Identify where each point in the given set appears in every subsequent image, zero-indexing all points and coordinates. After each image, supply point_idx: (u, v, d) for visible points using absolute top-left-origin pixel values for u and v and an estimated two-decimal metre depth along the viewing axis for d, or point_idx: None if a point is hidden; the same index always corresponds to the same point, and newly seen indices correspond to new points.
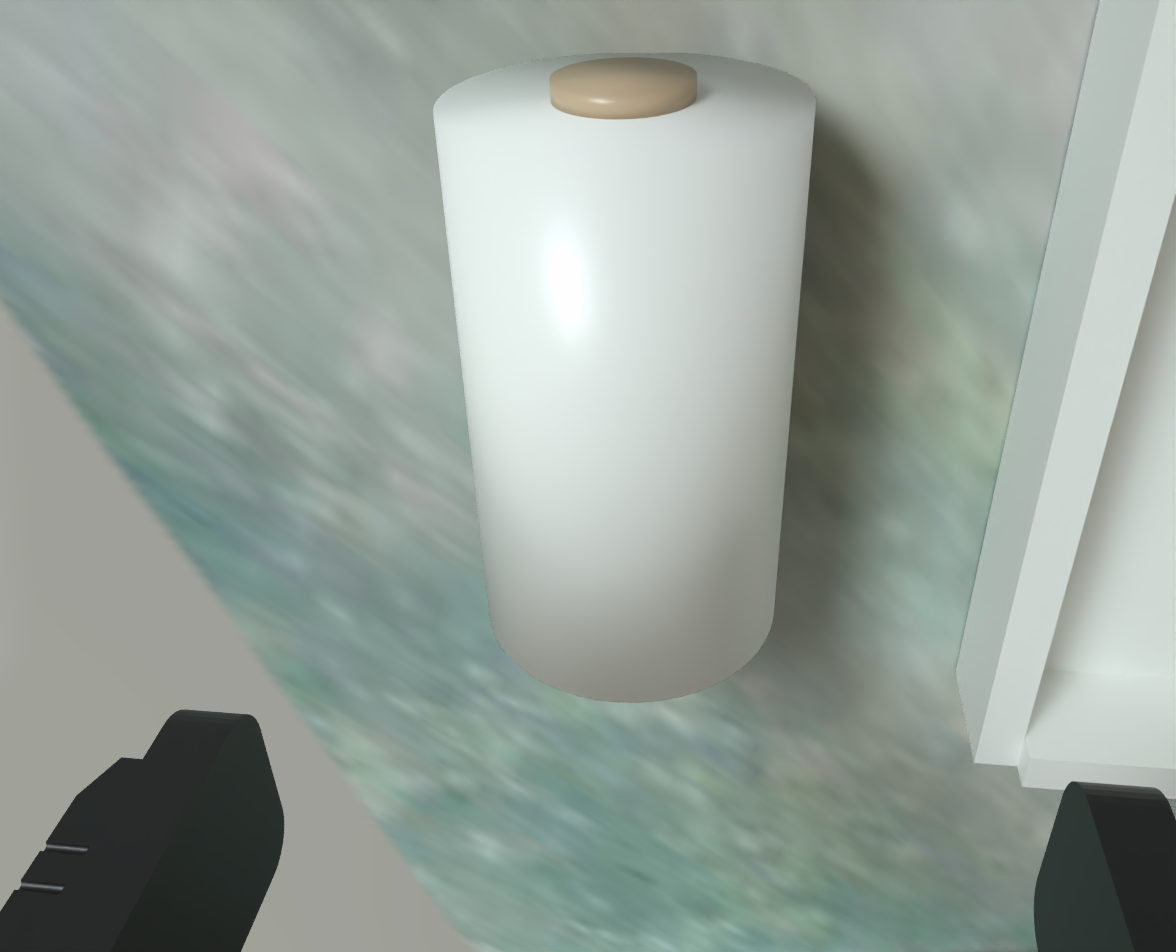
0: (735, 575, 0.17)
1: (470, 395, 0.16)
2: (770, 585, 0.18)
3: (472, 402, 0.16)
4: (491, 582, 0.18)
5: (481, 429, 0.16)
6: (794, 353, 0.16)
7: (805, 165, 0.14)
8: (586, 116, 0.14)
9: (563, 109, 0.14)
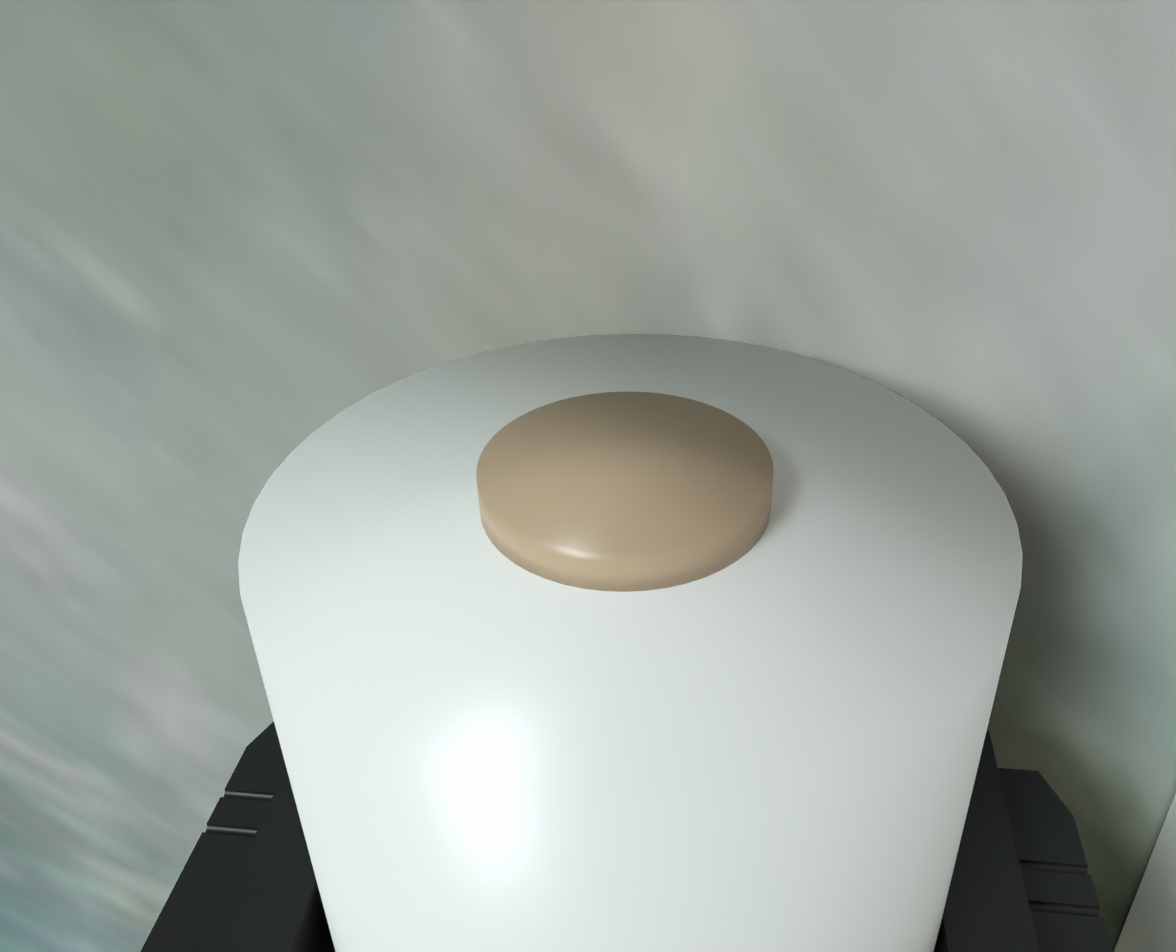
0: None
1: None
2: None
3: None
4: None
5: None
6: None
7: None
8: (599, 587, 0.07)
9: (538, 571, 0.07)
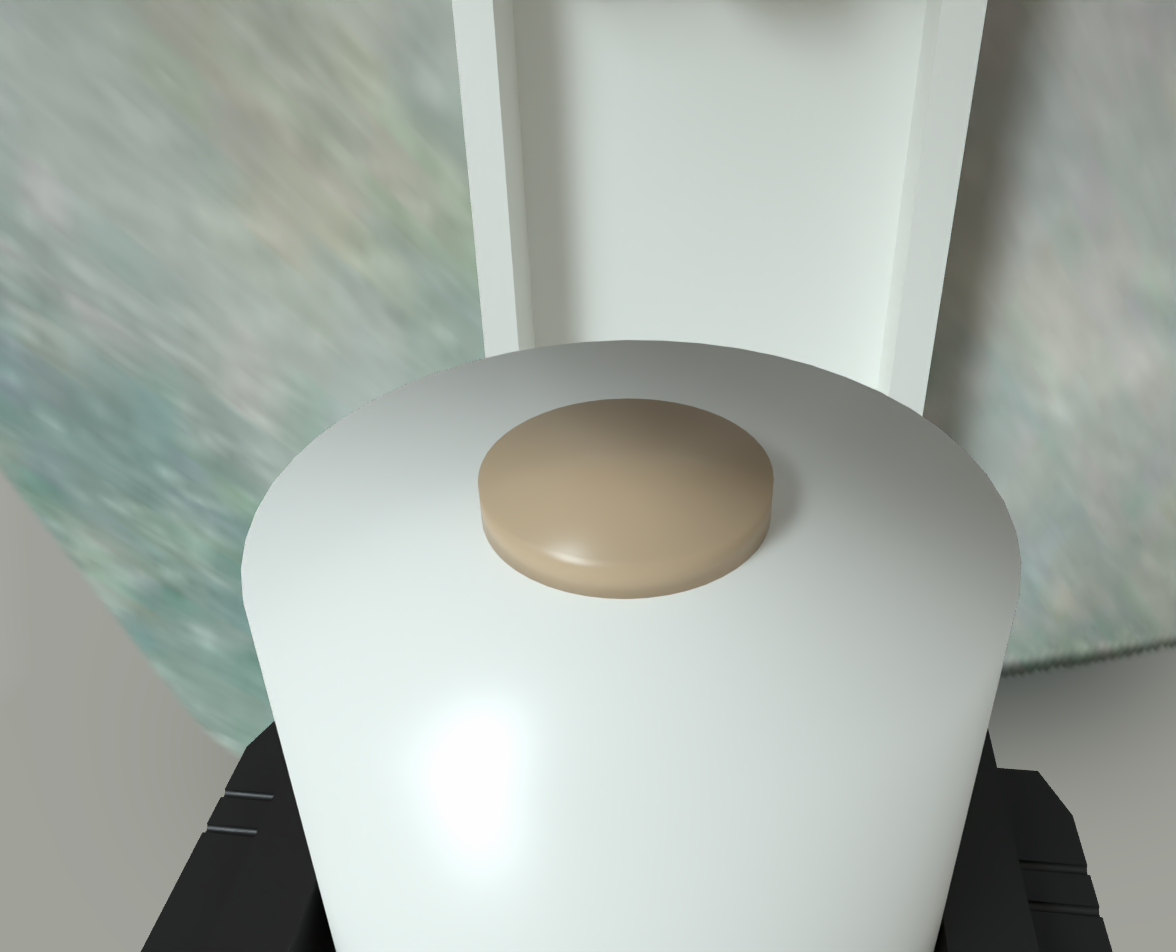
0: None
1: None
2: None
3: None
4: None
5: None
6: None
7: None
8: (599, 593, 0.07)
9: (539, 578, 0.07)
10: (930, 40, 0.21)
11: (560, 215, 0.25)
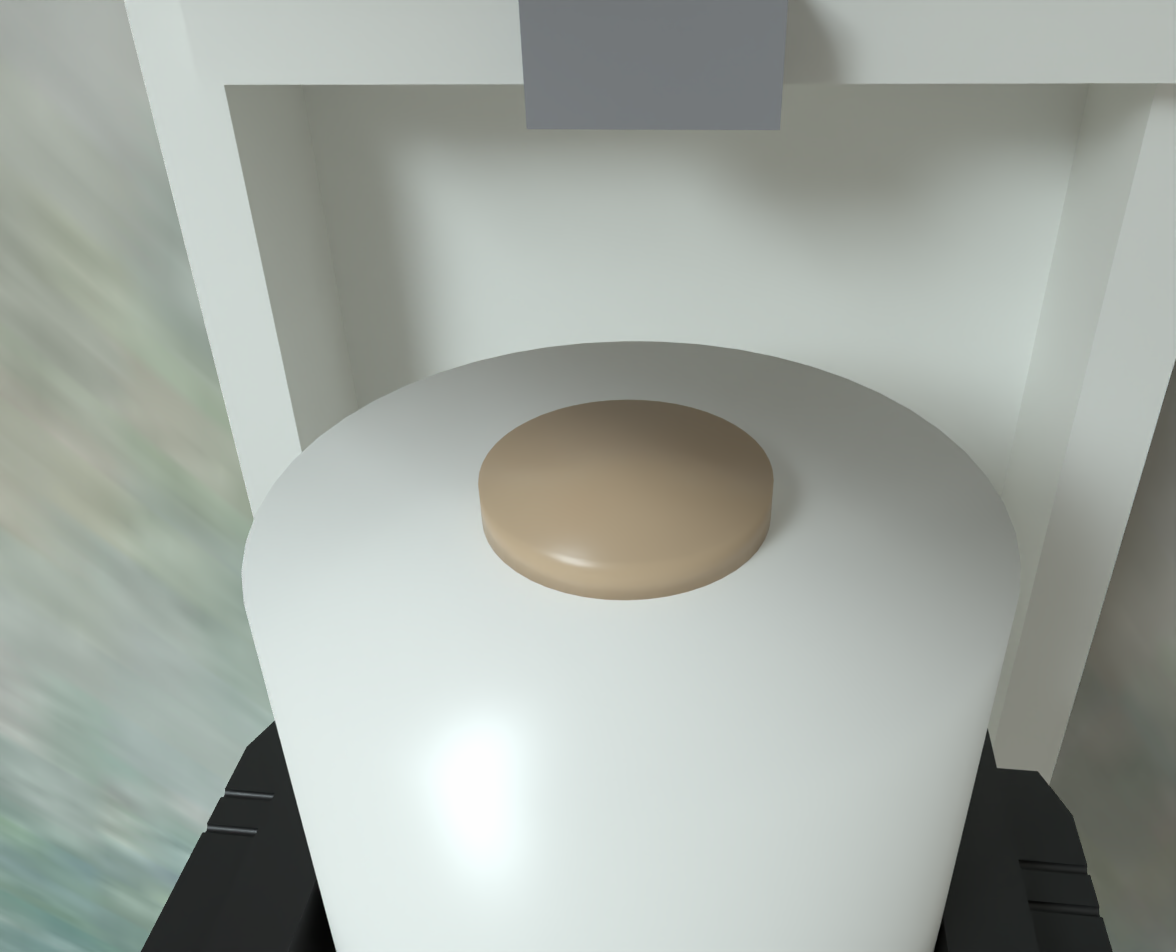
0: None
1: None
2: None
3: None
4: None
5: None
6: None
7: None
8: (600, 594, 0.07)
9: (539, 579, 0.07)
10: (1081, 278, 0.11)
11: None
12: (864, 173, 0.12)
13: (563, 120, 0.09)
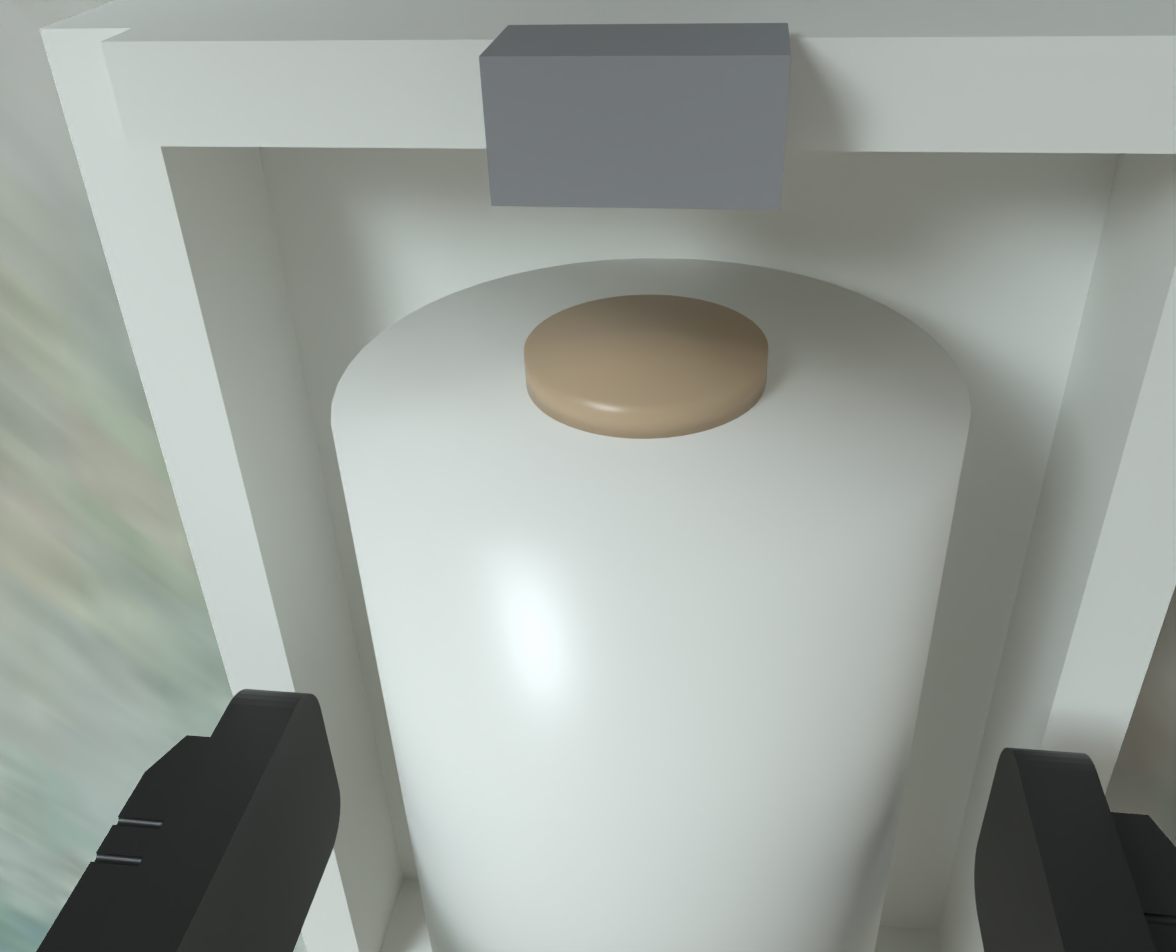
0: None
1: (448, 870, 0.10)
2: None
3: (454, 880, 0.10)
4: None
5: (478, 920, 0.10)
6: None
7: None
8: (625, 435, 0.08)
9: (577, 425, 0.08)
10: (1114, 355, 0.10)
11: None
12: (873, 234, 0.11)
13: (533, 196, 0.08)
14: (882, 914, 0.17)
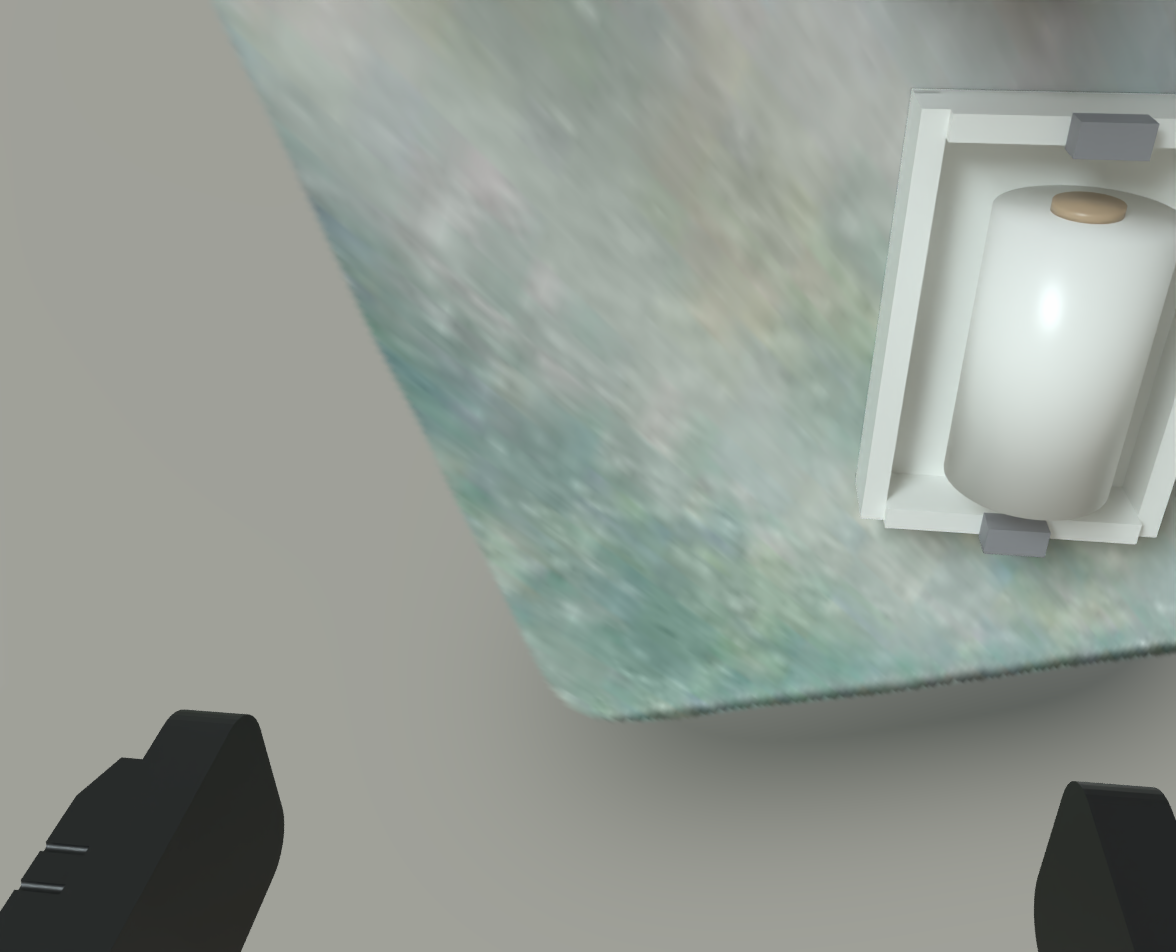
0: (1124, 440, 0.34)
1: (1012, 366, 0.32)
2: None
3: (1014, 369, 0.32)
4: (991, 471, 0.34)
5: (1021, 382, 0.32)
6: None
7: None
8: (1092, 223, 0.31)
9: (1077, 221, 0.31)
10: None
11: (931, 313, 0.36)
12: (1139, 177, 0.33)
13: (1085, 156, 0.30)
14: None
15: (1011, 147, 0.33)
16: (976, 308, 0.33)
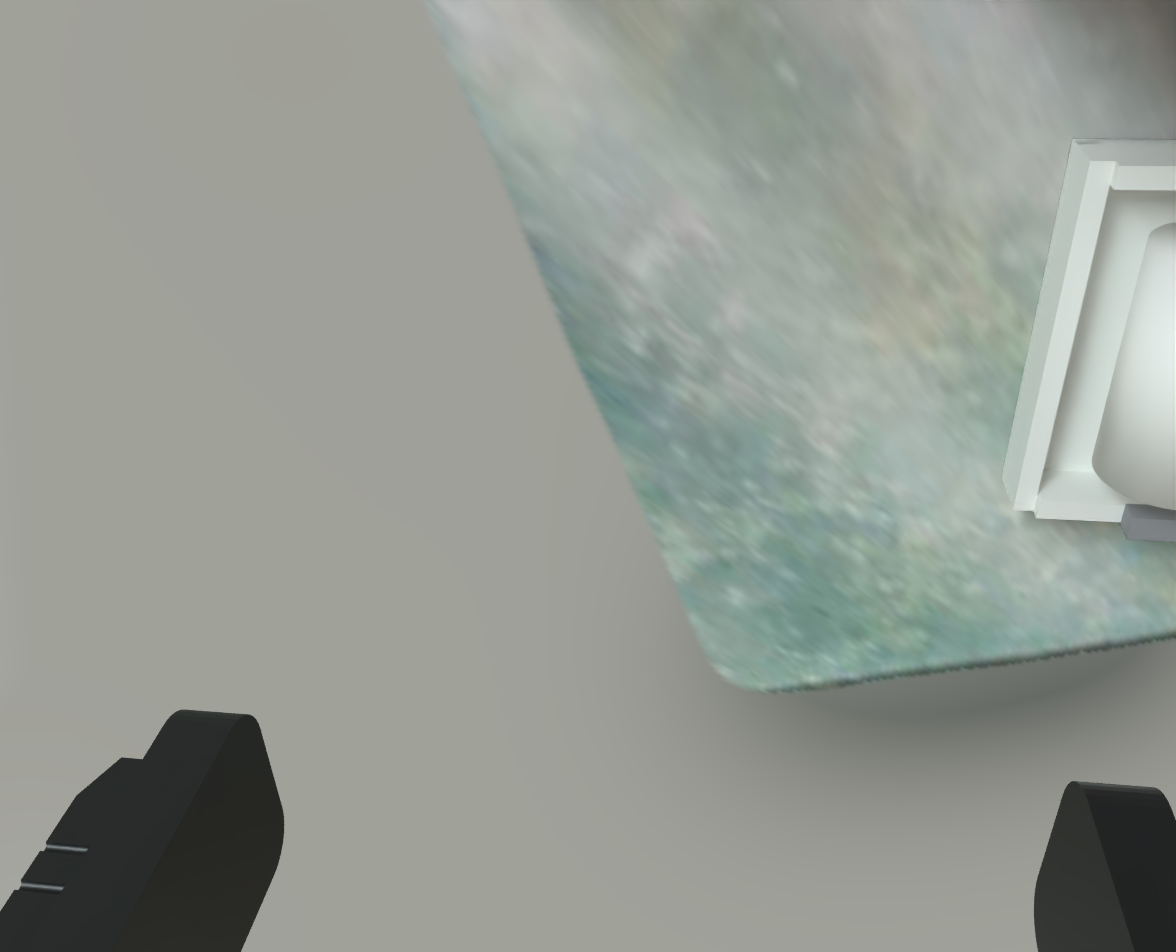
0: None
1: (1167, 380, 0.37)
2: None
3: (1169, 382, 0.37)
4: (1143, 469, 0.39)
5: (1175, 393, 0.37)
6: None
7: None
8: None
9: None
10: None
11: (1080, 330, 0.42)
12: None
13: None
14: None
15: None
16: (1131, 329, 0.38)
